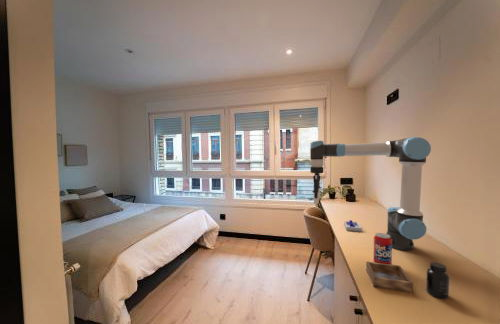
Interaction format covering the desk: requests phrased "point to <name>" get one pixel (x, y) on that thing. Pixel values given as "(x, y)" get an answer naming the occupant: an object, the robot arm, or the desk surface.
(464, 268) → the desk surface
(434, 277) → the supplement bottle
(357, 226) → the grey desk tray
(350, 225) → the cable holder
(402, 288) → the walnut box
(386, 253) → the soda can
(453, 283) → the desk surface
